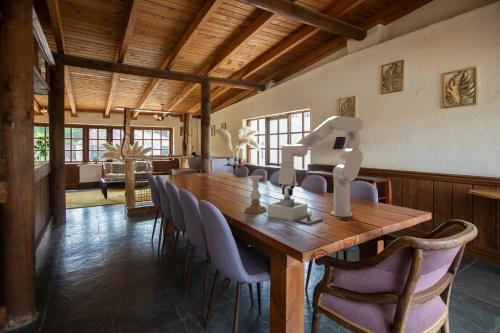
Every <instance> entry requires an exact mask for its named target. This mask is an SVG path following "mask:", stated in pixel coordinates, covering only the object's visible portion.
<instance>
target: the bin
mask: <svg viewBox="0 0 500 333" xmlns="http://www.w3.org/2000/svg"><path fill="white" fill-rule="evenodd" d="M306 211H308V204H307V203H304V202H303V203H302V202H299V201H297V202H296V201H294V207H292V208H290V207H285V206H280V200H279V201H275V202H271V203H267V217H268V218H271V219H276V220H280V221H284V222H289V223H295V219H298V218H301V217H304V216H306Z"/></svg>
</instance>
